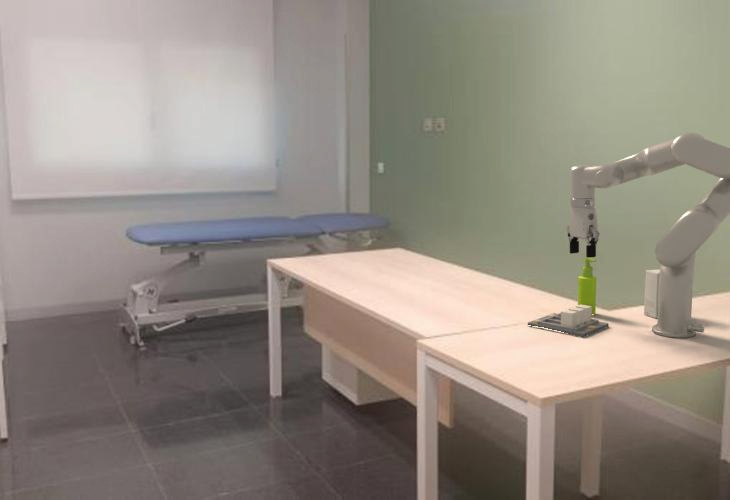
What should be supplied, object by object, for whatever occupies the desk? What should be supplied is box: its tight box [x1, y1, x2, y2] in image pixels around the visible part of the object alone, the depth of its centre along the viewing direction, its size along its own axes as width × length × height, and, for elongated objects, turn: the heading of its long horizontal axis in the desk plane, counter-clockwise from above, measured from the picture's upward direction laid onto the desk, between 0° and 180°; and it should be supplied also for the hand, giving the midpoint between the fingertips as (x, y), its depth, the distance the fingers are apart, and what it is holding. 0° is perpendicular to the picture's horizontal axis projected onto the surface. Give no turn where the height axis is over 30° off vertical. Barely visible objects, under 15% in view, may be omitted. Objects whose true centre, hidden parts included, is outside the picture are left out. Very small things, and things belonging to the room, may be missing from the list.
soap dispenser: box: [577, 256, 597, 315], centre depth 236 cm, size 6×7×20 cm
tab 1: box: [560, 309, 577, 328], centre depth 218 cm, size 4×3×5 cm
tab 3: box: [575, 304, 592, 322], centre depth 224 cm, size 4×3×5 cm
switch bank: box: [527, 312, 610, 338], centre depth 223 cm, size 20×16×2 cm
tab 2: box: [567, 306, 584, 325], centre depth 221 cm, size 4×3×5 cm
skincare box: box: [643, 269, 660, 319], centre depth 232 cm, size 8×7×16 cm
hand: (582, 255), depth 225 cm, fingers open, 9 cm apart
